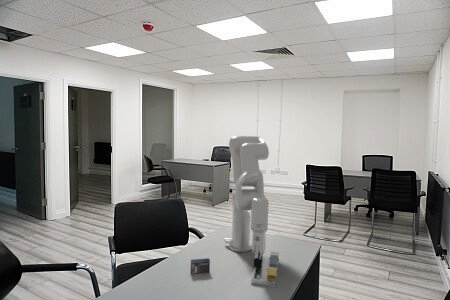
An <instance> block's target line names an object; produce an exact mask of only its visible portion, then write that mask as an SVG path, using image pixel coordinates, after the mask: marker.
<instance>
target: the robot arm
mask: <svg viewBox="0 0 450 300" xmlns="http://www.w3.org/2000/svg"><path fill="white" fill-rule="evenodd" d="M228 149H229V153H230V156H231V159H232V168H233V169H232V171H233V184H234V185H235V186H234V191H232V192H231V199H230V200H231V206H232V207H231V208H232V221H231V222H232V223H231V225H232V227H231V229H232V230H231V237H230V238H228V237H224V239H223V241H224V243H225V244H228V248H229V250H231V251H233V252H238V253H247V252H249V251H252V255H253V254H254V256H253V268H255V267H256V268H261V266H262V258H261V256H262V255H263V256H264V254H265V252H266V239H267V238H266V237H267V235H266V234H267V233H266V232H267V231H268V228H269V199H268V198H267V197H266V195H265V189H264V188H265V185H264V174H263V172H262V171H261V170H260V165H259V161H265V160H268V158H269V155H270V154H269V153H270V152H269V150H270V149H269V147H268V145H267V143H266V141H265V140H264V139H263V138H262V137H261V136H257V135H256V136H255V135H254V136H253V135H235V136H232V137H230V139H229V142H228ZM243 187H244V188H243ZM245 187H246V188H245ZM247 187H248V188H249V187H250V188H251V187H252V188H251V189H250V188H249V189H248V188H247ZM249 211H250V212H249ZM251 231H252V240H251ZM250 240H251V243H252V244H251V243H250Z"/></svg>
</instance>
